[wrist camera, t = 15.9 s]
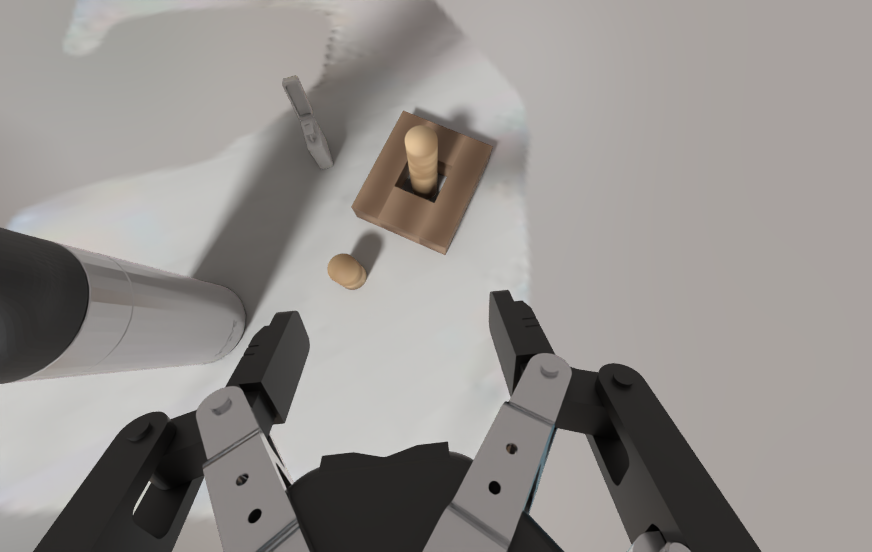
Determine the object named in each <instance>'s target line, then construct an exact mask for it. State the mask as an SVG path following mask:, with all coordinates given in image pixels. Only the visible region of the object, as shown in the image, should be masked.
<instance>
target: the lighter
mask: <svg viewBox="0 0 872 552" xmlns="http://www.w3.org/2000/svg"><path fill="white" fill-rule="evenodd" d="M282 85H283V87H284V90H285V92H286V94H287V96H288V98H289V100H290V102H291V104H292V106H293V108H294V110H295V112H296V114H297V116H298V118H299V120H301V122H300V123H301V127H302V130H303V134H304V137H305V141H306V144H307V148H308V150H309V152H310V153H311V155H312V156H313V158H314V159H315V161H316V162H317V164H318V165H319V167H320V168H321V169H322V170H323V169H326V168H330V167H333V165H334V164H333V161H332V157H331V154H330V150H329V147H328V144H327V140H326V138H325V137H324V135H323V133H322V131H321V129H320V127H319V126H318V124H317V122H316V120H315V118H313V110H312V108H311V105H310V103H309V101H308V99H307V96H306V94H305V92H304V90H303V87H302V85H301V83H300V81H299V78H298V77H297V76H296V75H295V76H291V77H288V78H284V79H283V82H282Z"/></svg>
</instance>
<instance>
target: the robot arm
mask: <svg viewBox="0 0 872 552" xmlns="http://www.w3.org/2000/svg"><path fill="white" fill-rule="evenodd" d="M244 327H245V311H244V307H243V304H242V302H241V300H240V299H239V298H238V296H237V295H236V294H235V293H234V292H233V291H231V290H230V289H228V288H226V287H224V286H220V285H217V284H213V283H209V282H205V281H201V280H198V279H194V278H190V277H187V276H183V275H179V274H175V273H171V272H167V271H164V270H160V269H156V268H152V267H148V266H144V265H141V264H137V263H133V262H129V261H125V260H121V259H118V258H114V257H110V256H106V255H102V254H98V253H94V252H90V251H86V250H82V249H78V248H75V247H71V246H67V245H63V244H59V243H55V242H52V241H48V240H44V239H40V238H36V237H32V236H28V235H25V234H21V233H17V232H14V231H10V230H7V229H4V228H0V384H4V383H12V382H22V381H32V380H43V379H53V378H63V377H72V376H83V375H93V374H104V373H114V372H125V371H136V370H146V369H157V368H167V367H179V366H189V365H200V364H207V363H212V362H214V361H217V360H219V359H221V358H222V357H224V356H225V355H227V354H228V353H229V352H230V351H231V350H232V349H233V348H234V347H235V346H236V345H237V343H238V342H239V340H240V338H241V336H242V334H243V331H244ZM489 328H490V333H491V336H492V339H493V342H494V346H495V349H496V352H497V355H498V358H499V362H500V365H501V368H502V371H503V374H504V377H505V381H506V384H507V387H508V390H509V393H510V396H511V398H510V400H509V402H504V403H503V405H502V407H501V408H500V410H499V412H498V414H497V416H496V418H495V420H494V422H493V424H492V426H491V428H490V430H489V432H488V433H487V435H486V437H485V439H484V441H483V443H482V445H481V447H480V449H479V451H478V453H477V455H476V457H475V459H474V460H473V459H471V458H469V457H467V456H465V455H463V454H459V453H456V452H451V451H449V448H448V442H441V443H432V444H423V445H416V446H414V447H411V448H409V449H406V450H403V451H401V452H398V453H395V454H393V455H390V456H387V457H378V456H372V455H366V454H360V453H354V452H353V453H344V454H335V455H326V456H322V459H321V464H320V467H319V468H316V469H314V470H312V471H310V472H308V473H307V474H305V475H304V476H302V477H301V478H299V479H298V480H297V481H296V482H294V481H293V480H292V478H291V476H290V474H289V472H288V470H287V468H286V466H285V464H284V462H283V459H282V457H281V455H280V453H279V451H278V449H277V447H276V445H275V443H274V440H273V438H272V436H271V435H270V430H271V428H272V425H273V424H283V423H285V421H286V418H287V415H288V412H289V409H290V406H291V403H292V400H293V397H294V394H295V392H296V389H297V386H298V383H299V380H300V377H301V374H302V371H303V368H304V365H305V362H306V359H307V356H308V353H309V348H310V343H309V338H308V335H307V332H306V330H305V327H304V325H303V322H302V320H301V317H300V315H299V313H298V312H297V311H287V312H278V313H276V314H275V315H274V317H273V319H272V321H271V323H270V325H269V326H264V327H263V328H262V329H261V330H260V331H259V332H257V333H256V334H255V335H254V337H253V338H252V340H251V342H250V344H249V346H248V348H247V349H246V351H245V353H244V356H243V357H242V358H241V360H240V362H239V363H238V365H237V367H236V369H235V371H234V372H233V374H232V376H231V378H230V379H229V381H228V383H227V385H226V387H225V388H222V389H219V390H217V391H215V392H214V393H212V394H210V395H209V396H208V397H207V398H206V399H204V401H203V402H202V403H201V404H200V405H199V407H198V409H197V410H195V411H192V412H190V413H187V414H184V415H181V416H178V417H176V418H173V419H170V418H169V417H168V416H167V415H166V414H165V413H163V412H151V413H148V414H145V415H143V416H140V417H138V418H137V419H135V420H133V421H132V422H130V423H129V424H128V425H126V426H125V427H124V428H123V429H122V430H121V431H120V432H119V433H118V435H117V436H116V437H115V439H114V440H113V441H112V443H111V444H110V446H109V447H108V448H107V450H106V451H105V452H104V454H103V455H102V457H101V458H100V459H99V461H98V462H97V464H96V465H95V466H94V468H93V469H92V471H91V472H90V473H89V475H88V476H87V477H86V479H85V480H84V482H83V483H82V484H81V486H80V487H79V489H78V490H77V491H76V493H75V494H74V496H73V497H72V498H71V500H70V501H69V502H68V504H67V505H66V507H65V508H64V509H63V511H62V512H61V514H60V515H59V516H58V518H57V519H56V521H55V522H54V524H53V525H52V526H51V528H50V529H49V530H48V532H47V533H46V535H45V536H44V537H43V539H42V540H41V541H40V543H39V544H38V546H37V547H36V548H35V550H34V551H33V552H172V550H173V548H174V545H175V543H176V541H177V538H178V536H179V534H180V531H181V529H182V527H183V525H184V522H185V520H186V518H187V515H188V513H189V511H190V509H191V506H192V504H193V502H194V499H195V497H196V495H197V492H198V490H199V488H200V485H201V483H202V481H203V479H204V476H205V480H206V484H207V488H208V492H209V496H210V500H211V504H212V508H213V512H214V516H215V520H216V524H217V528H218V531H219V536H220V540H221V543H222V547H223V551H224V552H564V551H563V550H562V549H561V548H560V547H559V546H558V545H557V544H556V543H555V541H554V540H553V539H552V538H551V537H550V536H549V535H548V534H547V533H546V532H545V531H544V530H543V529H542V528H541V527H540V526H539V525H538V524H537V523H536V522H535V521H534V519H533V518H532V517H531V516H530V515H529V513H530V509H531V507H532V504H533V501H534V498H535V495H536V492H537V489H538V485H539V482H540V479H541V476H542V473H543V469H544V466H545V463H546V461H547V458H548V455H549V452H550V449H551V446H552V443H553V440H554V437H555V434H556V431H557V429H558V428H560V429H565V430H569V431H574V432H579V433H584V434H585V435H586V437H587V439H588V442H589V444H590V446H591V449H592V451H593V453H594V456H595V458H596V461H597V463H598V466H599V468H600V470H601V473H602V475H603V477H604V480H605V482H606V484H607V487H608V489H609V492H610V494H611V496H612V499H613V501H614V503H615V506H616V508H617V511H618V513H619V515H620V518H621V520H622V523H623V525H624V527H625V530H626V532H627V535H628V537H629V539H630V542H631V544H632V546H631V547H630V548H629V550H628V551H627V552H761V550H760V549H759V547H758V546H757V544H756V543H755V541H754V540H753V539H752V537H751V536H750V534H749V533H748V531H747V530H746V528H745V527H744V525H743V524H742V522H741V521H740V519H739V518H738V516H737V515H736V514H735V512H734V511H733V509H732V508H731V506H730V505H729V503H728V502H727V500H726V499H725V498H724V496H723V495H722V493H721V491H720V490H719V488H718V487H717V486H716V484H715V483H714V481H713V480H712V478H711V477H710V475H709V474H708V472H707V471H706V469H705V468H704V466H703V465H702V464H701V462H700V461H699V459H698V458H697V457H696V455H695V453H694V452H693V450H692V449H691V447H690V446H689V444H688V443H687V441H686V440H685V438H684V437H683V435H682V434H681V433H680V432H679V430H678V428H677V427H676V425H675V424H674V422H673V421H672V419H671V418H670V416H669V415H668V413H667V412H666V411H665V409H664V408H663V406H662V405H661V403H660V402H659V400H658V399H657V398H656V396H655V394H654V393H653V392H652V390H651V389H650V387H649V386H648V384H647V383H646V381H645V380H644V378H643V377H642V376H641V375H640V374H639V373H638V372H637V371H635V370H633V369H632V368H630V367H628V366H625V365H621V364H614V363H612V364H607V365H604V366H603V367H601V368H600V370H599V373H598V372H591V371H585V370H579V369H575V368H572V367H570V366H569V364H568V363H567V362H566V361H565V360H564V359H562V358H561V357H559V356H557V355H555V353H554V351H553V349H552V347H551V346H550V344H549V342H548V340H547V338H546V336H545V334H544V332H543V330H542V328H541V326H540V324H539V322H538V320H537V319H536V316H535V314H534V312H533V311H532V309H531V307H529V306H528V305H527V304H526V303H524V302H523V301H514V300H513V298H512V296H511V294H510V292H509V290H503V291H493V292H490V300H489ZM148 481H150V482H151V484H150V486H149V488H148V489H147V491H146V493H145V495H144V497H143V498H142V500H141V502H140V504H139V506H138V507H137V509H136V511H135V513H134V515H133V510H134V507H135V505H136V503H137V501H138V499H139V497H140V496H141V494H142V492H143V490H144V489H145V487H146V485H147V483H148Z"/></svg>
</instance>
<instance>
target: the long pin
mask: <svg viewBox="0 0 872 552" xmlns="http://www.w3.org/2000/svg"><path fill="white" fill-rule="evenodd" d="M405 146H406V153H407V159H408V166H409V172H410V178H411V185H412V191H413V194H414V195H416V196H419V197H421V198H423V199H426V200H428V199H431V198H432V197H434V196H435V194H436V192H437V162H438V138H437V135H436V133H435V131H434V130H433V129H431V128H430V127H428V126H423V125H419V126H415V127H413V128H411V129H410V130H409V131H408V132H407V134H406V136H405Z"/></svg>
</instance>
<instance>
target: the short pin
mask: <svg viewBox="0 0 872 552" xmlns="http://www.w3.org/2000/svg"><path fill="white" fill-rule="evenodd" d="M328 274H329V276H330V278H331V279H332V280H334V281H335V282H337V283H339V284H340V285H342V286H344V287H345V288H347V289H350V290H355V289H358V288H360V287H361V286H362V285H363V284H364V283H365V281H366V271H365V269H364V268H363V267H362V266H361V265H360V264H359V263H358V262H357V261H356V260H355V259H354V258H353V257H352V256H351V255H348V254H338V255H336V256H334V257H333V258H332V259H331V260H330V262H329V264H328Z"/></svg>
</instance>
